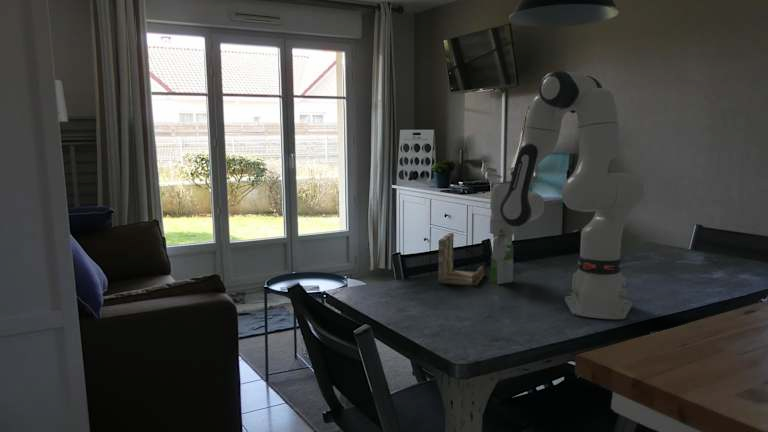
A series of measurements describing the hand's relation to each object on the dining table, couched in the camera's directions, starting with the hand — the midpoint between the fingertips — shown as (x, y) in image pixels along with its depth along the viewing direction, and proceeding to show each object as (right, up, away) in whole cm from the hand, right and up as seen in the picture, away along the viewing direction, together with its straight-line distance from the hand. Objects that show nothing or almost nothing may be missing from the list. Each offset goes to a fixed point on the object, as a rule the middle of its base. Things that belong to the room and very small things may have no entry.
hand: (501, 267), depth 196 cm
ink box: (0, -5, +1) cm, 5 cm away
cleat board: (-13, -5, +5) cm, 15 cm away
